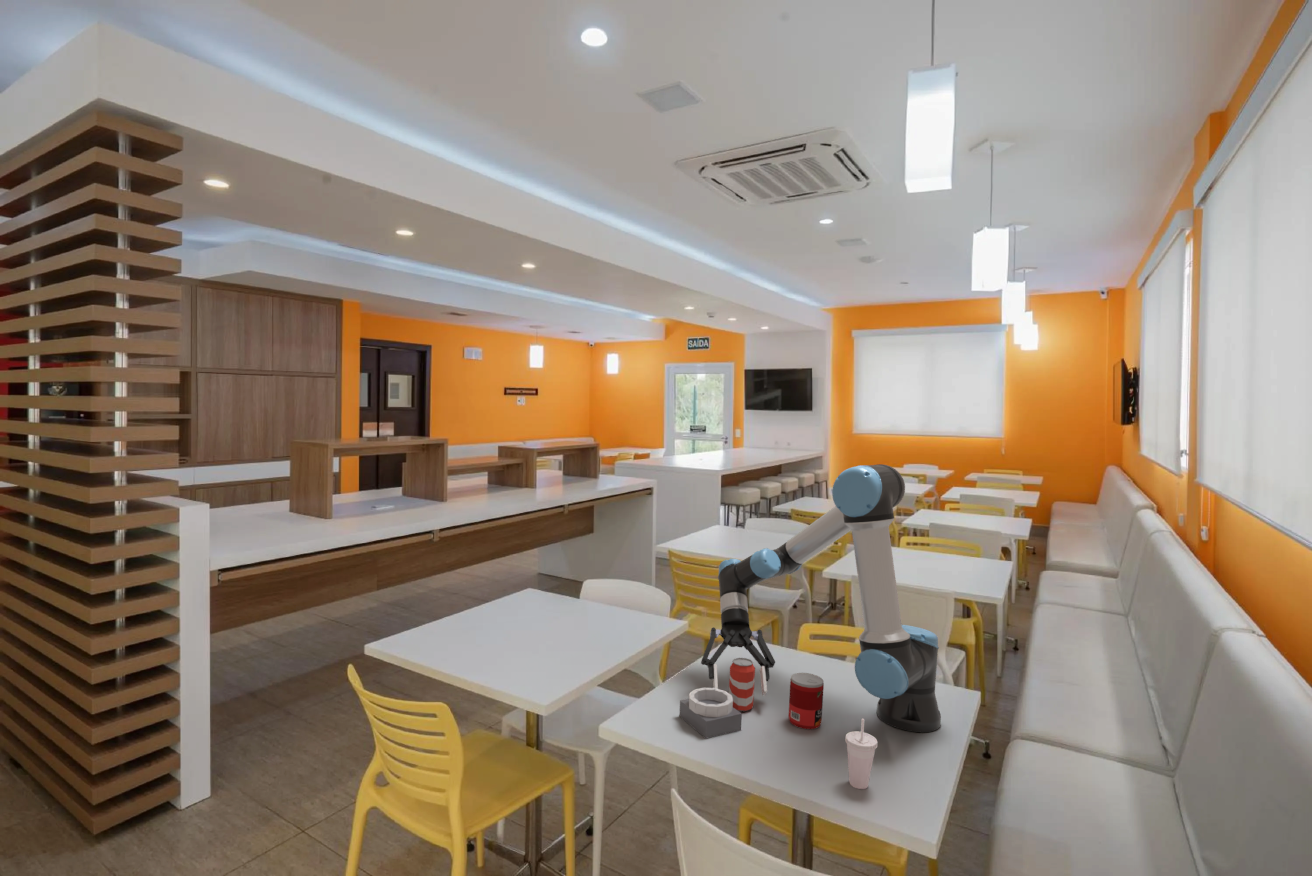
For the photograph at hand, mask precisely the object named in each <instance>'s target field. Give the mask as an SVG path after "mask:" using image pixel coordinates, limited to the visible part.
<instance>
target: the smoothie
mask: <svg viewBox="0 0 1312 876" xmlns="http://www.w3.org/2000/svg"><path fill="white" fill-rule="evenodd" d="M864 730H865V718H861V723H860V731H857V730H855V731H849V732H847V733H846V734H845V737H844V742H845V743H846V751H847V766H848V767H847V768H848V779H849V780H848V781H849V785H850V786H851V787H853V788H855V789H857V790H858V789H859V790H866V789H867V788H868V787H869V782H870V777H871V772H872V768H873V763H874V757H875V753H876V749H877V748H878V740H877V738H876V737H875V736H873V735H871V734H869V733H867V732H865V731H864Z"/></svg>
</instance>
